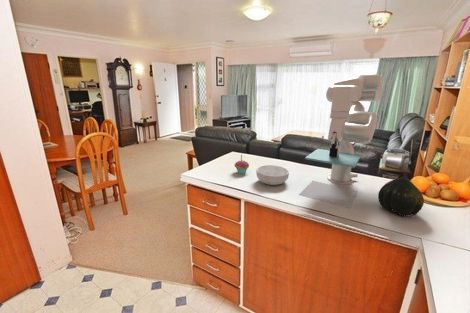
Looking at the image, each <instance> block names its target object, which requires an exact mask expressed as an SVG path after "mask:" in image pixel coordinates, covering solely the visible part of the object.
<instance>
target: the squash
mask: <svg viewBox="0 0 470 313" xmlns="http://www.w3.org/2000/svg"><path fill="white" fill-rule="evenodd" d="M377 194H378V195H377V196H378V197H377V198H378V202H379V205H380V206H381V207H382V208H383V209H386V210H387V211H391V212H392V211H393V212H394V213H397V214H398V215H399V216H400V217H401V216H402V217H408V216H414V215H417V214H418V213H419V212H420V211H421V210H423V209H422V208H423V206H424V203H425V199H424V195H423V193H422V192H421V190H420V189H419V188H418V187H417V186H416V185H415V184H414V183H413V182H412V181H411V180H410V179H409V178H407V177H406V176H401V177H398V178H395V179H392V180H390V181H388V182H386V183H385V184H384V185H382V187H380V190H379V191H378V193H377Z"/></svg>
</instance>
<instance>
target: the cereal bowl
mask: <svg viewBox="0 0 470 313" xmlns="http://www.w3.org/2000/svg"><path fill="white" fill-rule="evenodd" d="M255 172H256V177H257V179H258V180H259V181H260V182H261V183H264V184H265V185H269V186H276V185H281V184H284V183H285V182H286V181H287V180H288V179H289V175H290V171H289V170H288V169H287V168H285V167H283V166H280V165H272V164H271V165H269V164H268V165H261V166H258V167H257V168H256V170H255Z"/></svg>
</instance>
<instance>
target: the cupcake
mask: <svg viewBox="0 0 470 313" xmlns="http://www.w3.org/2000/svg"><path fill="white" fill-rule="evenodd" d="M234 167H235V169H236V172H237V173H238V174H240V175H245V174H246V173H247V170H248V169H249V168H250V164H249V162H247V161H245V160H243V155H242V153H241V154H240V160H238V161H236V162H235V163H234Z"/></svg>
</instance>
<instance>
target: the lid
mask: <svg viewBox="0 0 470 313" xmlns="http://www.w3.org/2000/svg"><path fill="white" fill-rule="evenodd" d="M337 149H338V152H337V157H330V156H329V152H330V149H329V150H328V149H323V148H321V149H320V148H317V149H315V150H314V151H312V152H311V153H310V154H307V156H305V158H304V160H306V161H307V160H308V161H314V162H319V163H324V164H325V163H326V164H330V165H332V164H335V165H341V166H346V167H351V169H354V168H355V167H356V166H357V165H358V163H359V161H360V159H361V158H362V154H355V153H354V154H350V153H343V152H339V151H340V146H339V145H338V147H337Z"/></svg>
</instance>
